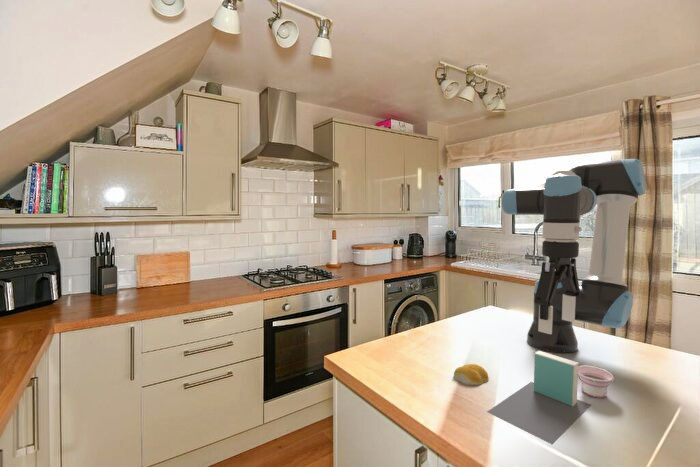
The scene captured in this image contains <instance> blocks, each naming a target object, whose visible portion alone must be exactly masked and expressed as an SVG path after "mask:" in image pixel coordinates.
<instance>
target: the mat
mask: <svg viewBox="0 0 700 467" xmlns="http://www.w3.org/2000/svg"><path fill="white" fill-rule="evenodd" d="M591 406H592V404H591V403H588V402H585V401H582V400H580V399H578V398H577V403H576V404H575V405H574V406H571V405H568V404H566V403H563V402H561V401H558V400H556V399H553V398H551V397H548V396H546V395H543V394H541V393H538V392H536V391H534V381H530V382H528V383H527V384H526V385H524V386H522V387H521V388H519V389H518V390H516V392H514V393H512V394H510V395H508V397H506V398H505V399H504V400H502V401H501V402H499V403H498V404H496V405H495V406H493V407H491V408H490V409H489V410H487V411H486V413H489V414H490V415H492V416H494V417H496V418H499V419H500V420H502V421H504V422H506V423H509V424H510V425H513V426H515V427H517V428H518V429H520V430H522V431H524V432H527V433H529V434H531V435H533V436H535V437H537V438H539V439H541V440H542V441H545V442H547V443H548V444H551V445H553V444H554V443H555V442H556V441H558V439H559V438H560V437H561V436H563V435H564V433H565V432H566V431H567V430H568V429H569V428H570V427H571V426H573V424H574V423H575V422H576V421H577V420H579V418H580V417H581V416H582V415H584V413H586V411H587V410H588V409H589V408H590V407H591Z"/></svg>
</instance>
